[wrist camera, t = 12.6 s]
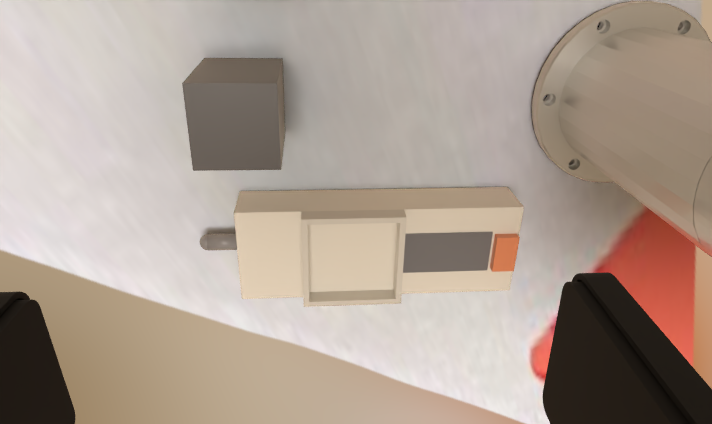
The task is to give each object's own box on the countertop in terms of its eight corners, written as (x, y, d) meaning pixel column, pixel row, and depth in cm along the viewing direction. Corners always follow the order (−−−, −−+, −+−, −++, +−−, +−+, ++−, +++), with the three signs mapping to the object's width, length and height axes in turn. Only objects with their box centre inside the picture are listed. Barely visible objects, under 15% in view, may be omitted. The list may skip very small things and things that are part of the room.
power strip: (507, 186, 41) (530, 214, 37) (495, 265, 44) (514, 299, 40) (197, 191, 39) (184, 222, 35) (207, 273, 42) (196, 310, 38)
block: (282, 58, 35) (277, 83, 29) (285, 132, 37) (281, 170, 31) (204, 57, 35) (182, 83, 29) (212, 133, 37) (193, 171, 31)
